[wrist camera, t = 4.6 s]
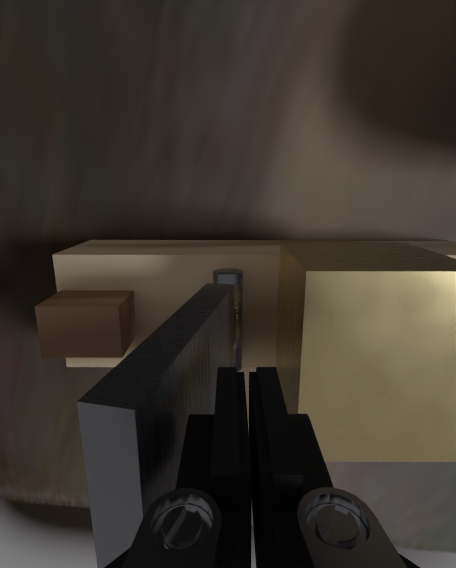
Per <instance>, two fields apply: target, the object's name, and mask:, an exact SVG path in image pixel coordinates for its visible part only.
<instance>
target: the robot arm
mask: <svg viewBox="0 0 456 568" xmlns="http://www.w3.org/2000/svg"><path fill="white" fill-rule="evenodd" d="M251 500H252V512H253V526H254V541H255V555H256V568H420V567H418V566H417V565H415V564H414V563H412V562H411V561H409V560H408V559H406V558H405V557H403V556H402V555H400V554H399V553H398V552H397V550H396V549H395V547H394V546H393V544H392V542H391V541H390V539H389V537H388V536H387V534H386V532H385V531H384V529H383V528H382V526H381V524H380V523H379V521H378V519H377V518H376V516H375V515H374V513H373V512H372V511H371V509H370V508H369V507H368V506H367V504H366V503H364V502H363V501H362V500H361V499H359V498H358V497H357V496H355V495H353V494H351V493H349V492H347V491H345V490H341V489H337V488H333V485H332V482H331V479H330V476H329V473H328V470H327V467H326V464H325V461H324V458H323V456H322V453H321V450H320V447H319V444H318V441H317V438H316V435H315V432H314V429H313V426H312V424H311V421H310V418H309V416H308V414H288V412H287V408H286V404H285V400H284V396H283V392H282V388H281V385H280V381H279V377H278V373H277V369H276V367H257V368H256V372H249V433H248V420H247V406H246V393H245V379H244V372H237V370H236V367H218V369H217V383H216V397H215V412H214V414H190V415H189V417H188V421H187V427H186V432H185V438H184V443H183V449H182V454H181V460H180V465H179V471H178V476H177V482H176V487H175V490H172V491H169V492H167V493H165V494H164V495H162V496H160V497H159V498H157V499H156V500H155V501H154V502H153V503H152V504H151V505H150V507H149V508H148V510H147V511H146V513H145V515H144V517H143V519H142V522H141V524H140V526H139V529H138V531H137V533H136V536H135V538H134V540H133V543H132V545H131V547H130V548H129V549H127V550H126V551H125V552H124V553H122V554H121V555H120V556H118V557H117V558H116V559H115V560H113V561H112V562H111V563H109V564H108V565H107V566H105V567H104V568H251Z"/></svg>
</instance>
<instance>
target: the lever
mask: <svg viewBox="0 0 456 568" xmlns="http://www.w3.org/2000/svg"><path fill="white" fill-rule="evenodd" d="M242 326H243V271H242V270H239V269H230V268H225V269H217V270H214V271H213V283H206V284H205V285H204V286H203V287H202V288H201V289H200V290H199V291H198V292H197V293H195V294H194V295H193V296H192V297H191V298H190V299H189V300H188V301H187V302H186V303H185V304H183V305H182V306H181V307H180V308H179V309H178V310H177V311H176V312H175V313H174V314H172V315H171V316H170V317H169V318H168V319H167V320H166V321H165V322H164V323H163V324H161V325H160V326H159V327H158V328H157V329H156V330H155V331H154V332H153V333H152V334H151V335H149V336H148V337H147V338H146V339H145V340H144V341H143V342H142V343H141V344H140V345H138V346H137V347H136V348H135V349H134V350H133V351H132V352H131V353H130V354H129V355H128V356H126V357H125V358H124V359H123V360H122V361H121V362H120V363H119V364H118V365H117V366H115V367H114V368H113V369H112V370H111V371H110V372H109V373H108V374H107V375H106V376H104V377H103V378H102V379H101V380H100V381H99V382H98V383H97V384H96V385H95V386H94V387H92V388H91V389H90V390H89V391H88V392H87V393H86V394H85V395H84V396H83V397H81V398H80V399H79V400H78V401H77V406H78V414H79V422H80V430H81V438H82V446H83V454H84V462H85V470H86V478H87V486H88V494H89V502H90V510H91V518H92V526H93V534H94V541H95V549H96V558H97V566H98V568H104V567H105V566H107V565H108V564H109V563H111V562H112V561H113V560H115V559H116V558H117V557H118V556H120V555H121V554H122V553H124V552H125V551H126V550H127V549H129V548H130V547H131V545H132V543H133V540H134V538H135V536H136V533H137V531H138V529H139V526H140V524H141V522H142V519H143V517H144V515H145V513H146V511H147V510H148V508H149V507H150V505H151V504H152V503H153V502H154V501H155V500H156V499H157V498H159V497H160V496H162V495H164V494H165V493H167V492H169V491H172V490H175V487H176V482H177V476H178V471H179V465H180V460H181V454H182V449H183V443H184V438H185V432H186V427H187V421H188V417H189V415H190V414H214V412H215V397H216V383H217V369H218V367H236V370H237V371H239V370H241V368H242Z"/></svg>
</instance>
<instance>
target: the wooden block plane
mask: <svg viewBox="0 0 456 568" xmlns="http://www.w3.org/2000/svg"><path fill="white" fill-rule="evenodd" d="M280 243H408V244H411V245H414V246H418V247H421V248H424V249H427V250H430V251H433V252H437V253H440V254H443V255H446V256H449V257H452V258H455V259H456V242H452V241H448V240H89V241H87V242H84V243H82V244H79V245H76V246H74V247H71V248H68V249H66V250H63V251H61V252H58V253H55V254H53V255H52V256H53V264H54V271H55V279H56V287H57V293H56V294H54V295H53V296H51V297H49V298H48V299H46V300H45V301H43V302H41V303H40V304H38V305H36V306H35V313H36V320H37V327H38V334H39V340H40V347H41V354H42V358H66V364H67V367H115V366H117V365H118V364H119V363H120V362H121V361H122V360H123V359H124V358H125V357H126V356H128V355H129V354H130V353H131V352H132V351H133V350H134V349H135V348H136V347H137V346H138V345H140V344H141V343H142V342H143V341H144V340H145V339H146V338H147V337H148V336H149V335H151V334H152V333H153V332H154V331H155V330H156V329H157V328H158V327H159V326H160V325H161V324H163V323H164V322H165V321H166V320H167V319H168V318H169V317H170V316H171V315H172V314H174V313H175V312H176V311H177V310H178V309H179V308H180V307H181V306H182V305H183V304H185V303H186V302H187V301H188V300H189V299H190V298H191V297H192V296H193V295H194V294H195V293H197V292H198V291H199V290H200V289H201V288H202V287H203V286H204V285H205V284H206V283H213V271H214V270H217V269H225V268H230V269H239V270H242V271H243V326H242V367H275V365H276V340H277V315H278V290H279V264H280Z"/></svg>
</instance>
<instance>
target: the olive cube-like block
mask: <svg viewBox="0 0 456 568" xmlns="http://www.w3.org/2000/svg"><path fill="white" fill-rule="evenodd" d="M275 367H276V369H277V373H278V377H279V381H280V385H281V388H282V392H283V396H284V400H285V404H286V408H287V412H288V414H308V416H309V418H310V421H311V424H312V426H313V429H314V432H315V435H316V438H317V441H318V444H319V447H320V450H321V453H322V456H323V458H324V461H342V462H456V259H455V258H452V257H449V256H446V255H443V254H440V253H437V252H433V251H430V250H427V249H424V248H421V247H418V246H414V245H411V244H408V243H280V264H279V290H278V315H277V340H276V365H275Z"/></svg>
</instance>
